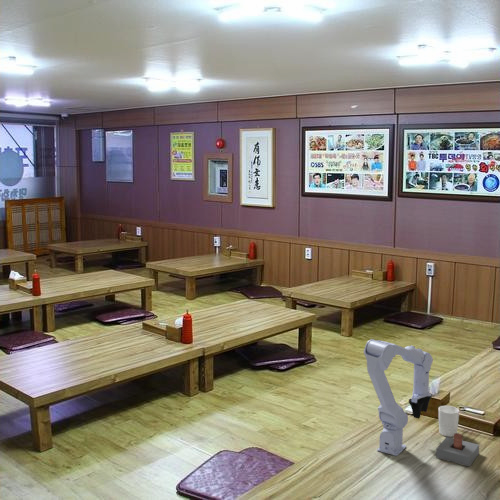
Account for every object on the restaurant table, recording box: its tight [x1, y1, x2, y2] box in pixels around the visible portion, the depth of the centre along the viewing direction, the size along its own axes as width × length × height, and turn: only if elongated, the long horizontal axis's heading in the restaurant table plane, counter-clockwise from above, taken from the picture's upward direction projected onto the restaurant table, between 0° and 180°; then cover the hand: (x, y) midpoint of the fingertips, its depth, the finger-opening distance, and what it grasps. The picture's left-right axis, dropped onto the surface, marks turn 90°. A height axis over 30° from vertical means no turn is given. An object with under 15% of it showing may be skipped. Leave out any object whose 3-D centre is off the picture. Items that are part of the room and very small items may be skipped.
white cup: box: [438, 405, 460, 438], centre depth 241 cm, size 8×8×10 cm
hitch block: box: [435, 436, 480, 467], centre depth 223 cm, size 12×12×4 cm
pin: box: [453, 432, 463, 450], centre depth 223 cm, size 3×3×8 cm
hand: (420, 414), depth 237 cm, fingers open, 7 cm apart
